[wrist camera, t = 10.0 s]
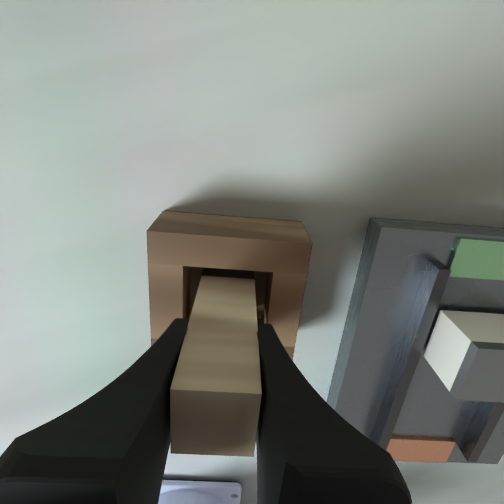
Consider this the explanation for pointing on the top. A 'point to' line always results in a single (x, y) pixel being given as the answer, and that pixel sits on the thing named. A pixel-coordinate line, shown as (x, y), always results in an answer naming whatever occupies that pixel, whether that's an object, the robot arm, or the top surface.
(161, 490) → the robot arm
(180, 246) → the wooden square socket
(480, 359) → the handle
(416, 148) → the top surface
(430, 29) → the top surface
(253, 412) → the wooden block
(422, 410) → the panel
